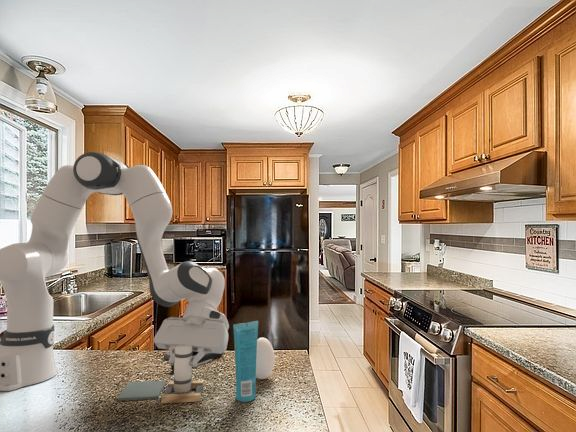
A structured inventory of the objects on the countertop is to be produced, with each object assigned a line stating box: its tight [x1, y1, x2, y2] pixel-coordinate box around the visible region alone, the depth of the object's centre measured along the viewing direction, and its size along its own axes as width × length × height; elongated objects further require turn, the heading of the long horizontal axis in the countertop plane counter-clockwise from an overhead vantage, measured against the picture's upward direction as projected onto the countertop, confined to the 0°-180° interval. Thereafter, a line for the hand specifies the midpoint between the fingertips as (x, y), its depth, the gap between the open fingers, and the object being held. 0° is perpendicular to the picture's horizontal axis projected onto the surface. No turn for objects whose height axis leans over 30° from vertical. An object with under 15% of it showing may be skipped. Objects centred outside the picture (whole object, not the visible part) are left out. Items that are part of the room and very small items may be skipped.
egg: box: [256, 337, 276, 380], centre depth 107 cm, size 7×7×12 cm
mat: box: [116, 380, 167, 402], centre depth 98 cm, size 10×10×1 cm
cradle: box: [160, 379, 205, 404], centre depth 97 cm, size 9×9×2 cm
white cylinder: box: [172, 344, 193, 394], centre depth 97 cm, size 5×5×11 cm
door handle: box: [163, 351, 225, 373], centre depth 123 cm, size 3×20×16 cm
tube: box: [233, 320, 259, 403], centre depth 95 cm, size 7×5×19 cm, turn 133°
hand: (182, 365), depth 96 cm, fingers closed on white cylinder, 4 cm apart
